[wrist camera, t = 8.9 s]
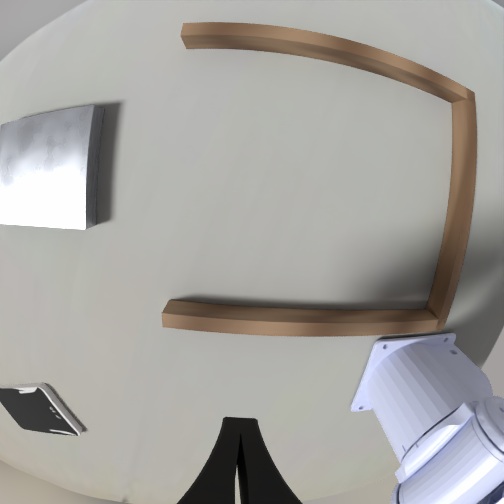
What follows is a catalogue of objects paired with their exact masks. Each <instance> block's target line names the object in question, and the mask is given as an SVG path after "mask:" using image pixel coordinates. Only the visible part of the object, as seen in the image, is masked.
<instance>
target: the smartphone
mask: <svg viewBox="0 0 504 504" xmlns="http://www.w3.org/2000/svg"><path fill="white" fill-rule="evenodd" d="M0 402H1V403H2V405H3V406H4V407H5V408H6V410H7V411H8V412H9V414H10V415H11V416H12V417H13V419H14V420H15V421H16V422H17V423H18V425H19V426H20V427H22V428H23V429H26V430H32V431H38V432H45V433H53V434H62V435H74V436H79V435H80V434H81V432H82V427H81V426H80V425H79V424H78V423H77V421H76V420H75V419H74V418H73V417H72V416H71V414H70V413H69V412H68V411H67V410H66V408H65V407H64V406H63V405H62V403H61V402H60V401H59V400H58V398H57V397H56V396H55V394H54V393H53V392H52V390H51V389H50V388H49V387H48V386H47V385H46V384H44V383H32V384H18V385H0Z"/></svg>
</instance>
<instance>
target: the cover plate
mask: <svg viewBox="0 0 504 504" xmlns="http://www.w3.org/2000/svg"><path fill="white" fill-rule="evenodd" d="M104 110H105V109H103V108H101V107H98V106H96V105H88V106H81V107H75V108H69V109H64V110H58V111H53V112H48V113H44V114H39V115H35V116H31V117H27V118H23V119H19V120H15V121H12V122H8V123H5V124H2V125H1V127H0V224H16V225H31V226H46V227H61V228H75V229H87V228H90V227H93V226H95V225H96V196H97V174H98V160H99V149H100V139H101V131H102V123H103V116H104Z"/></svg>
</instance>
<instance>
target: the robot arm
mask: <svg viewBox="0 0 504 504" xmlns="http://www.w3.org/2000/svg"><path fill="white" fill-rule="evenodd" d="M455 339H456V335H455V334H454V333H447V334H439V335H430V336H420V337H409V338H396V339H381V340H378V341H376V342H375V344H374V346H373V349H372V352H371V355H370V358H369V361H368V363H367V366H366V369H365V372H364V375H363V377H362V380H361V383H360V385H359V388H358V390H357V393H356V395H355V398H354V400H353V403H352V405H351V410H352V411H353V412H357V411H364V410H371V409H373V410H374V412H375V414H376V416H377V418H378V420H379V422H380V424H381V426H382V428H383V430H384V432H385V434H386V436H387V438H388V440H389V442H390V444H391V446H392V448H393V450H394V452H395V454H396V456H397V458H398V460H399V463H400V465H401V467H400V468H399V469H398V470H397V471H396V472H395V475H396V477H397V479H398V481H399V483H398V484H397V485H396V486H395V488H394V490H393V492H392V495H391V504H504V399H503V398H501V397H498V396H493V393H492V387H491V384H490V381H489V379H488V378H487V376H486V375H485V374H484V373H483V372H482V371H481V370H480V369H479V368H478V367H477V366H476V365H475V364H474V363H473V362H472V361H471V360H470V359H469V358H468V357H467V356H466V355H465V354H464V353H463V352H462V351H461V350H460V349H458V348H457V347H456V346H455V345H454V342H455ZM385 344H386V346H384V345H385ZM383 346H384V347H383ZM236 468H238V479H239V489H240V499H241V504H302V503H301V502H300V500H299V499H298V498H297V497H296V495H295V494H294V493H293V492H292V490H291V489H290V488H289V486H288V485H287V484H286V482H285V481H284V479H283V478H282V476H281V474H280V473H279V471H278V469H277V468H276V466H275V464H274V462H273V460H272V458H271V456H270V454H269V452H268V450H267V448H266V446H265V443H264V441H263V438H262V435H261V432H260V429H259V426H258V421H257V420H256V419H255V418H235V417H225V418H223V422H222V427H221V430H220V433H219V436H218V439H217V441H216V444H215V446H214V448H213V450H212V452H211V455H210V457H209V458H208V460H207V462H206V464H205V466H204V467H203V469H202V471H201V472H200V474H199V475H198V477H197V479H196V480H195V481H194V483H193V484H192V486H191V487H190V488H189V490H188V491H187V492H186V493H185V495H184V496H183V497H182V498H181V499H180V501H179V502H178V503H177V504H235V475H236Z"/></svg>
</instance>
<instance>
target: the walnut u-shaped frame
mask: <svg viewBox="0 0 504 504" xmlns="http://www.w3.org/2000/svg"><path fill="white" fill-rule="evenodd" d="M181 38H182V40H183V42H184V44H185V47H186V49H197V48H219V49H244V50H257V51H268V52H277V53H285V54H292V55H298V56H304V57H310V58H315V59H321V60H326V61H330V62H335V63H339V64H343V65H347V66H351V67H355V68H359V69H363V70H366V71H369V72H373V73H376V74H379V75H383V76H386V77H389V78H392V79H395V80H397V81H400V82H403V83H406V84H408V85H411V86H414V87H416V88H419V89H421V90H424V91H426V92H428V93H431V94H433V95H435V96H438V97H440V98H442V99H444V100H446V101H448V102H451V103H452V123H453V144H452V169H451V182H450V193H449V202H448V210H447V217H446V224H445V230H444V236H443V241H442V246H441V251H440V256H439V261H438V265H437V269H436V274H435V278H434V282H433V286H432V289H431V293H430V296H429V300H428V303H427V307H426V309H411V310H318V309H288V308H267V307H249V306H234V305H220V304H208V303H196V302H185V301H175V300H169V301H168V303H167V305H166V307H165V308H164V310H163V312H162V324H163V327H168V328H176V329H185V330H195V331H206V332H218V333H232V334H248V335H269V336H369V335H389V334H405V333H418V332H429V331H439V330H443V329H444V326H445V323H446V320H447V318H448V315H449V312H450V308H451V305H452V302H453V299H454V295H455V292H456V288H457V285H458V281H459V277H460V273H461V269H462V265H463V261H464V256H465V252H466V247H467V242H468V236H469V230H470V224H471V217H472V210H473V202H474V192H475V181H476V163H477V123H476V106H475V94H474V92H473V91H471V90H469V89H468V88H466V87H464V86H462V85H460V84H459V83H457V82H455V81H453V80H451V79H449V78H447V77H445V76H443V75H441V74H439V73H437V72H435V71H433V70H431V69H429V68H426V67H424V66H422V65H420V64H417V63H415V62H412V61H410V60H408V59H405V58H403V57H400V56H397V55H395V54H392V53H389V52H386V51H383V50H380V49H377V48H374V47H371V46H368V45H365V44H361V43H358V42H354V41H351V40H347V39H343V38H339V37H335V36H331V35H326V34H321V33H317V32H311V31H306V30H300V29H294V28H287V27H280V26H271V25H261V24H248V23H225V22H204V23H183V27H182V31H181Z"/></svg>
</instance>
